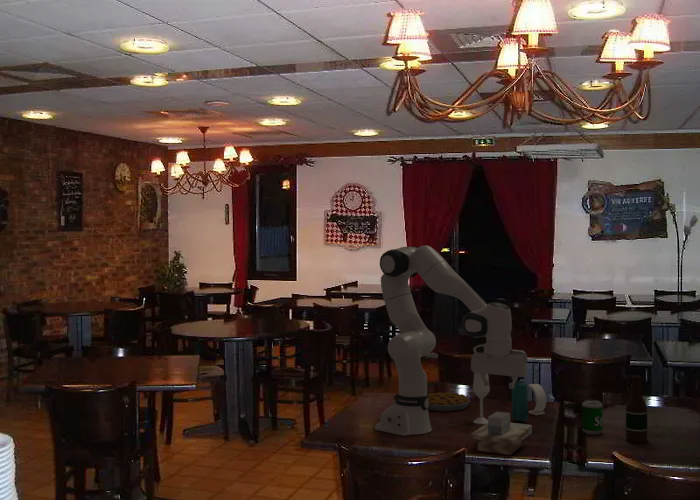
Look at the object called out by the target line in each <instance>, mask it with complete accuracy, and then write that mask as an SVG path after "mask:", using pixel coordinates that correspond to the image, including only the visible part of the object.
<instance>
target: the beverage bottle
mask: <svg viewBox="0 0 700 500" xmlns="http://www.w3.org/2000/svg"><path fill="white" fill-rule="evenodd" d="M525 377H526V376H525ZM525 377H518V379H517V380H516V382H515V383H514V389H511V419H512V420H514V421H519V422H520V421H521V422H523V421H527V420H529V406H528V405H529V401H528V400H529V399H528V383H527V382H525V381H524V379H526V378H525Z"/></svg>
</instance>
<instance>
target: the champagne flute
mask: <svg viewBox="0 0 700 500" xmlns="http://www.w3.org/2000/svg"><path fill="white" fill-rule="evenodd" d="M473 373H474V374H473V385H472V391H473V393H474V394H475V395H476V396H477V398H479V417H478V418H475V420H473V423H474V424H477V425H485V424H488V418H487V419H486V418H485V417H484V399H485V397H487V395H489V393H490V385H489V386H484V381H483V380H482V378H481V373H476V372H473ZM485 377H486V379H487V380H489V381H490V378H489V374H486V375H485Z"/></svg>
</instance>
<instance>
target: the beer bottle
mask: <svg viewBox="0 0 700 500" xmlns="http://www.w3.org/2000/svg"><path fill="white" fill-rule="evenodd" d="M630 378H631V393H630V397H629V398H628V400H627V402H626V405H625V438H626V441H627V442H629V443H633V444H645V443H647V442H648V406H647V404H646V402H645V400H644V398H643V395H642V394H643V393H642V392H643V391H642V381H641V380H642V376H641V375H638V374H633V375H631V377H630Z"/></svg>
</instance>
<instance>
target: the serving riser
mask: <svg viewBox="0 0 700 500" xmlns="http://www.w3.org/2000/svg"><path fill="white" fill-rule="evenodd" d="M527 434H528V429H524V428H516V427H510V430H509V431H507V432H506V433H505V434H503V435H502V436H501V435H494V434H488V423H487V424H483V425H482V426H481V427H479V428H478V429H476V430H474V431H473V432H471V433H470V434H469V439H473V440H477V451H480V452H486V453H494V454H502V455H508V456H511V455H512V454H513V453H515V452H516V451H517V450H519V449H520V448H521V447H522V441H521V438H523V437H524V436H525V435H527Z"/></svg>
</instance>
